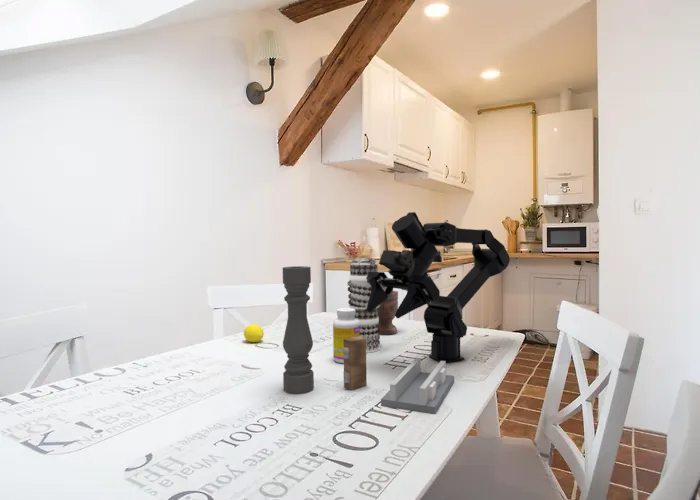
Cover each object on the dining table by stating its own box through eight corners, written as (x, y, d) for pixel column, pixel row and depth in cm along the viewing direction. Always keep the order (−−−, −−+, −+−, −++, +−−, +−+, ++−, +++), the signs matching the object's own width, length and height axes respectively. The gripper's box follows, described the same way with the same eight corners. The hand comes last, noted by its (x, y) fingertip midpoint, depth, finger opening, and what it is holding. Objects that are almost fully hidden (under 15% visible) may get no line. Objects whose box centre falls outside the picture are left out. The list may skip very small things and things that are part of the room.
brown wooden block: (358, 382, 93) (358, 336, 93) (366, 385, 91) (366, 338, 91) (340, 388, 90) (339, 339, 90) (348, 391, 88) (347, 342, 88)
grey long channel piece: (408, 376, 97) (408, 357, 97) (454, 381, 93) (454, 362, 93) (381, 405, 81) (380, 382, 81) (435, 413, 77) (434, 390, 77)
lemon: (267, 343, 131) (269, 325, 130) (254, 347, 126) (256, 328, 126) (250, 337, 135) (252, 320, 134) (237, 340, 130) (238, 323, 130)
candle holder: (318, 385, 92) (316, 266, 91) (306, 395, 86) (303, 268, 85) (291, 382, 94) (289, 266, 93) (278, 392, 88) (275, 268, 87)
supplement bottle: (357, 365, 106) (356, 312, 106) (330, 363, 107) (329, 311, 107) (362, 357, 113) (361, 307, 112) (336, 356, 114) (336, 307, 113)
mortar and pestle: (383, 338, 132) (383, 272, 131) (360, 335, 137) (359, 271, 136) (403, 331, 141) (402, 269, 140) (380, 328, 146) (380, 268, 146)
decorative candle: (379, 344, 126) (378, 257, 125) (383, 352, 116) (382, 258, 116) (347, 344, 125) (346, 257, 125) (348, 353, 116) (347, 259, 115)
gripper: (372, 238, 106) (335, 285, 100) (432, 237, 92) (393, 293, 85) (395, 269, 111) (361, 317, 105) (455, 274, 97) (420, 329, 90)
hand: (381, 313), depth 96 cm, fingers open, 9 cm apart
